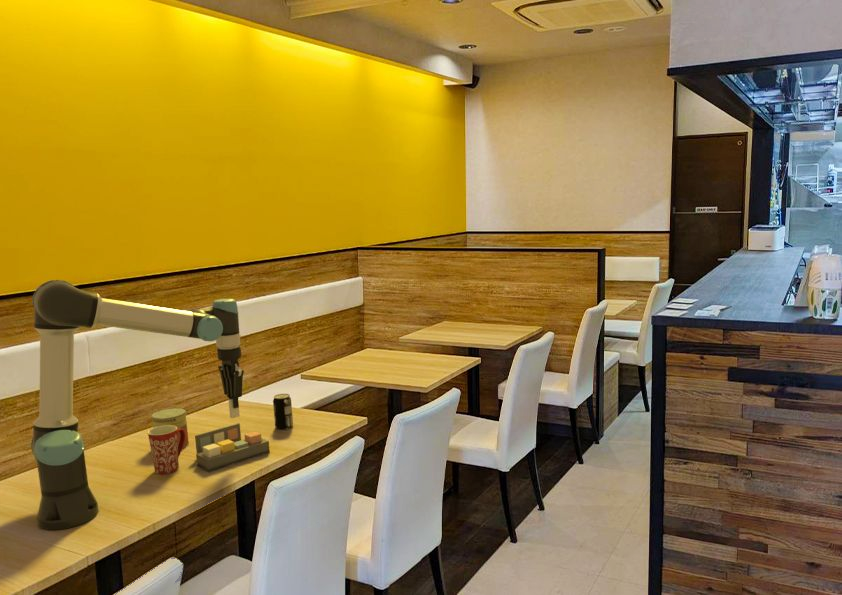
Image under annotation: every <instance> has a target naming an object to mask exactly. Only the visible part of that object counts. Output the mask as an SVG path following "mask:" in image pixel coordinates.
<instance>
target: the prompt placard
mask: <svg viewBox="0 0 842 595" xmlns="http://www.w3.org/2000/svg"><path fill="white" fill-rule="evenodd" d="M194 439H195V449H196V454H198V453H201V452H203V447H204V446H207V445H211V444H216V445H217V442H221V441H224V440H227V439H229V440H231V441H233V442H237V441H240V440H242V435H241V425H240V423H239V422H238V423H234V424H230V425H227V426H223V427H219V428H216V429H212V430H209V431H206V432H202V433H199V434H195V435H194Z"/></svg>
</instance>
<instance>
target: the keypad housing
mask: <svg viewBox="0 0 842 595" xmlns="http://www.w3.org/2000/svg"><path fill="white" fill-rule="evenodd" d="M261 438H262V441H261V442H258V443H255V444H252V445H250V444H248V446H245V447H242V448H239V449H236V448H235V450H232V451H229V452H226V453H221V452H220V453H221V454H219V455H216V456H213V457H210V458H208V457H206V456H204V455H203V452H201V453H198V454H197V453H196V456H195V457H196V465H197V467H198V468H200V469H201V470H204V471H206V472H208V473H211V472H213V471H217V470H219V469H224V468H225V467H226V468H227V467H230V466H233V465H236V464H239V463H241V462H245V461H247V460H251V459H254V458H257V457H260V456H264V455H266V454H270V442H269V440H267V439H265V438H263V437H261ZM242 440H243V441H245V439H242Z"/></svg>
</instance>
